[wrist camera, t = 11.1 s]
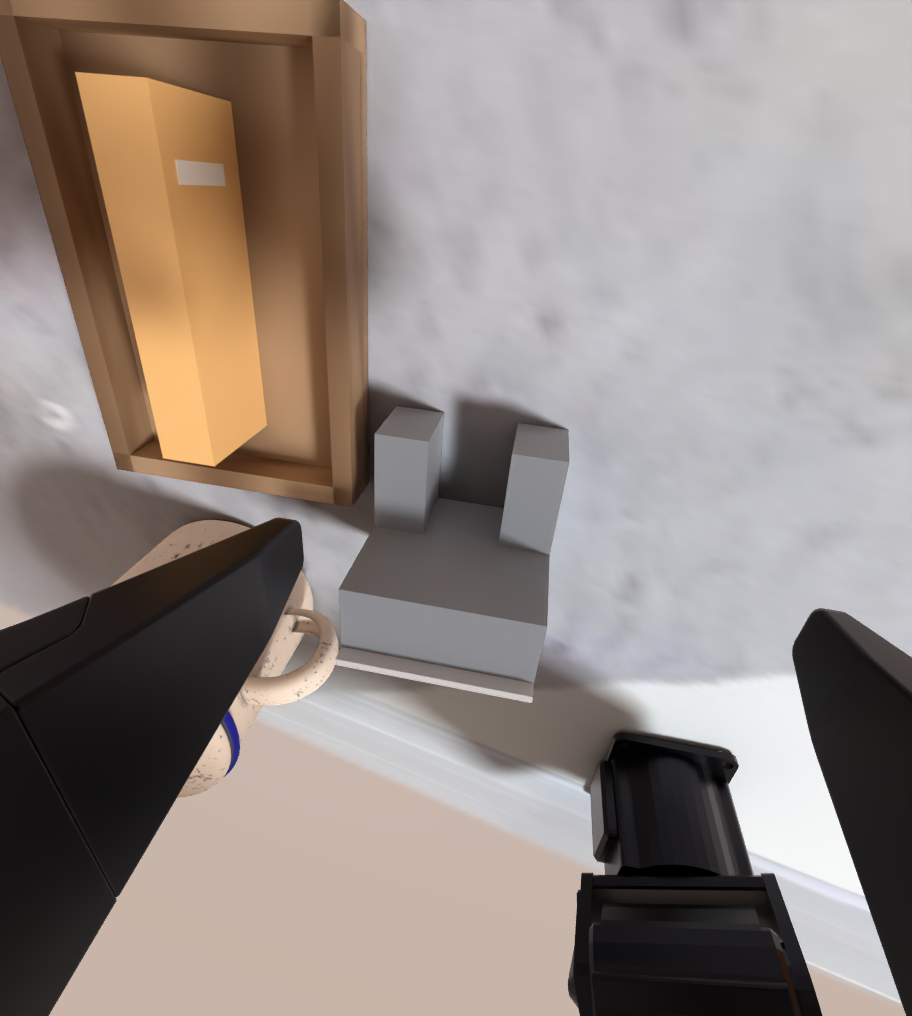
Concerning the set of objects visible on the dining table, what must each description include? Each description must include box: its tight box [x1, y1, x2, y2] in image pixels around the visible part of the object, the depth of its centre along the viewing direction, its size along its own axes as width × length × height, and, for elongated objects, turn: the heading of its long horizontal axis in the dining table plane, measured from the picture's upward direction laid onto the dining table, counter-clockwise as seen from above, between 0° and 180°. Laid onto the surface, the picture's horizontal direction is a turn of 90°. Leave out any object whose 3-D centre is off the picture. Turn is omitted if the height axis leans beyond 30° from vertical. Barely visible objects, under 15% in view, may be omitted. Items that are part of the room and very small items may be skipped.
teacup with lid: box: [111, 520, 338, 797], centre depth 23 cm, size 12×9×12 cm
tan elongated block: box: [75, 72, 267, 466], centre depth 18 cm, size 2×11×4 cm, turn 175°
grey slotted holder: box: [335, 406, 569, 703], centre depth 20 cm, size 7×7×8 cm
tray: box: [0, 0, 369, 507], centre depth 19 cm, size 11×16×2 cm
